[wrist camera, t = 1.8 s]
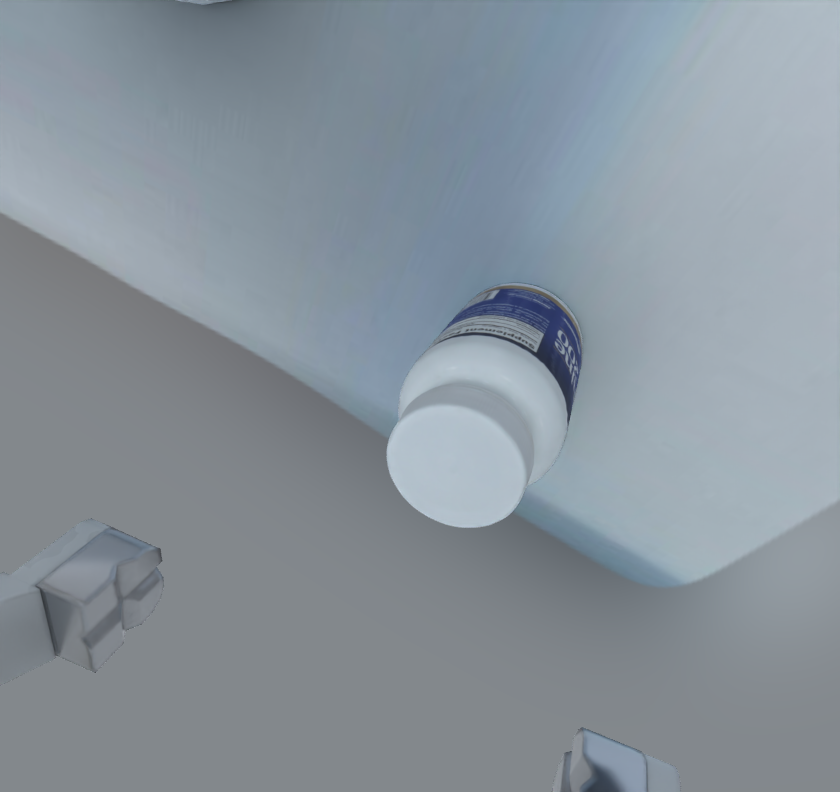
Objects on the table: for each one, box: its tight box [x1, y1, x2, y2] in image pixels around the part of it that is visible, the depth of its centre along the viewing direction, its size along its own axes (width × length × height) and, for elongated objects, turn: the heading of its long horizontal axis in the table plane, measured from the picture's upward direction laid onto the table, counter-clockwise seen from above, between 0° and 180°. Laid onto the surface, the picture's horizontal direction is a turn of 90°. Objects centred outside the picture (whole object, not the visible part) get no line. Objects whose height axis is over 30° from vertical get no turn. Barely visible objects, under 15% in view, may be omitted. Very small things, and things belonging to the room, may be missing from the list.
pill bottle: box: [386, 283, 583, 528], centre depth 20 cm, size 5×5×10 cm
